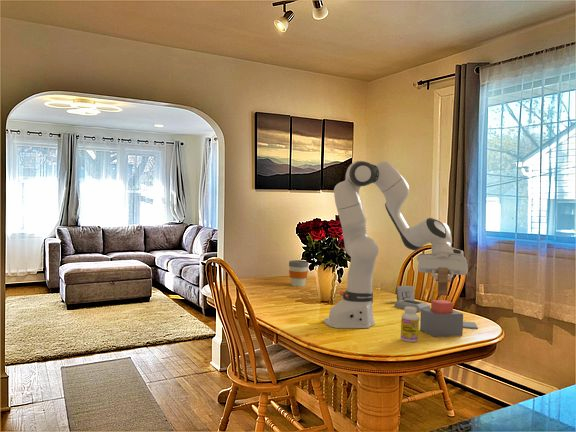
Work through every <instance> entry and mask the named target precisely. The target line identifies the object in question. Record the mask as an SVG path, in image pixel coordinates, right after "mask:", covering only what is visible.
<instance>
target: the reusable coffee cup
mask: <svg viewBox="0 0 576 432" xmlns="http://www.w3.org/2000/svg"><path fill="white" fill-rule="evenodd" d="M306 261H307V260H298V259H297V260H289V261H288V267H289V270H288V274H289V278H290V285H291V286H293V287H305V286H306V280H307V277H308V272H309V270H308V268H309V262H306Z"/></svg>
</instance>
